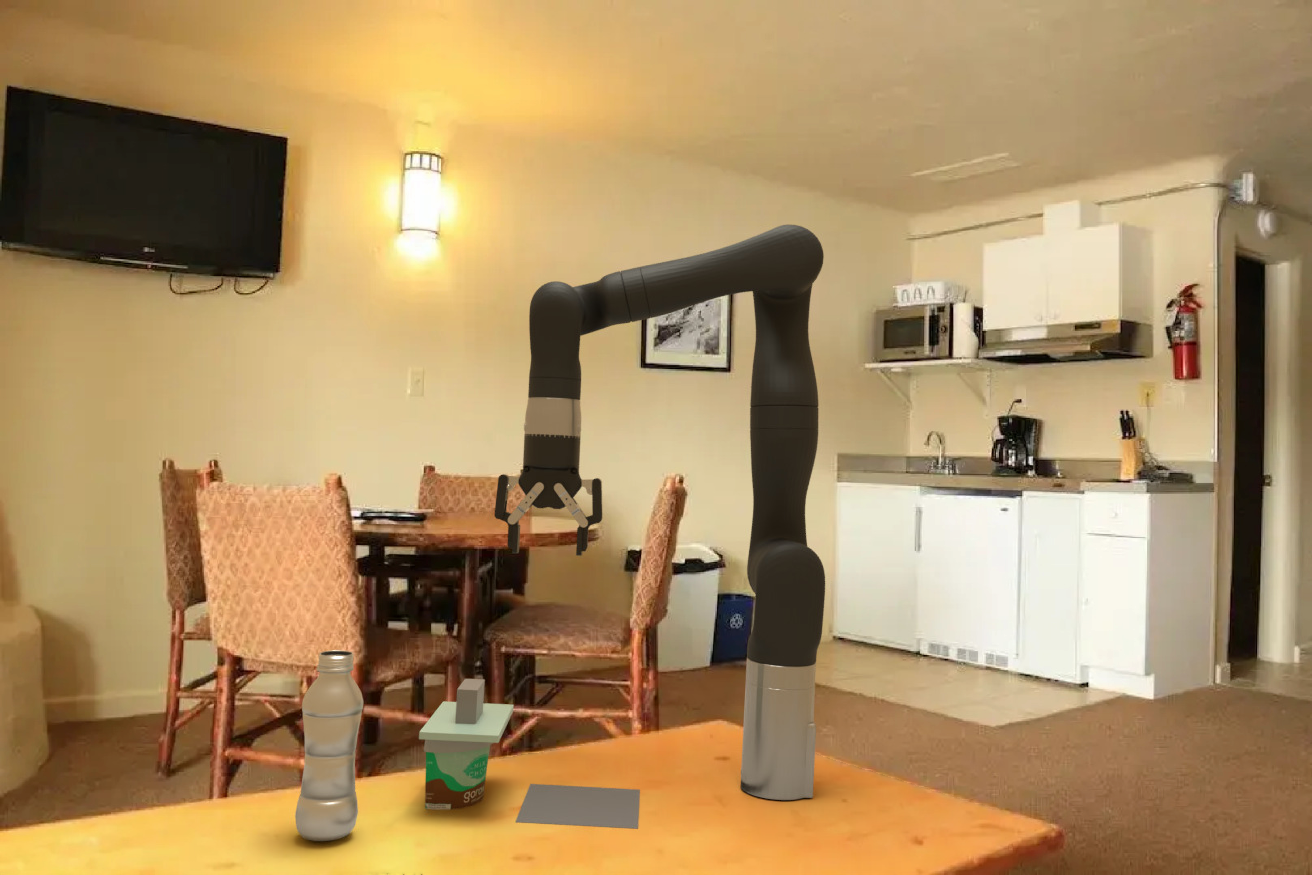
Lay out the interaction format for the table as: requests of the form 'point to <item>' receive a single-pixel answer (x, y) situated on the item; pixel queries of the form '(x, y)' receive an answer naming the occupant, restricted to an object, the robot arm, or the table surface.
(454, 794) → the food container
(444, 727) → the lid
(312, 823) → the plastic bottle
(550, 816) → the rubber mat
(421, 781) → the table surface
